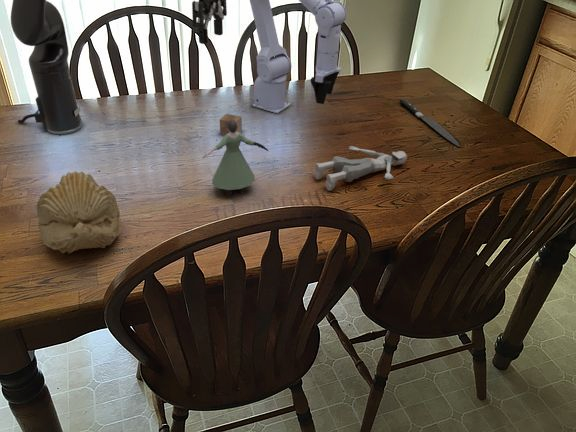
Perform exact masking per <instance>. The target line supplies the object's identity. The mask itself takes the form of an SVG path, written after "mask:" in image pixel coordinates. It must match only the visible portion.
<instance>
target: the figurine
mask: <svg viewBox="0 0 576 432" xmlns="http://www.w3.org/2000/svg"><path fill="white" fill-rule="evenodd" d="M348 149H349V151H354V152H361V153H363V154H366V155H367V156H368V155H369V156H374V157H377V158H373V157H364V158H354V159H349V158H346V157H343V156H337V155H335V156H333V158H332V160H330V161H325V162H321V163H315V164H314V170H313V173H314V174H313V176H314V178H315V179H316V180H321V179H322V178H323V176H324V172H325V171H328V170H331V169H332V170H333V172H335V173H327V174H326V181H325V188H326V190H327V191H329V192H330V191H333V190H334V188H335V187H336V182H337V181H341V180H343V181H344V182H346V183H351V182H353V181H354V180H358V179H359V178H361V177H364V176H366V175H369V174H372V173H375V172H379V171H384V170H385V169H386V172H385V174H384V176H383V179H385V180H388V181H390V180H392V179H394V176H393V175H392V174H391V169H392V168H391V167H393V166H400V165H404V164H405V163H406V161H407V159H408V155H407V154H406V152H405V151H402V150H398V151H392V152H391V154H392V155H389V154H386V153H384V152H377V151H375V150H371V149H362V148H359V147H357V146H353V145H350V146H349V147H348Z"/></svg>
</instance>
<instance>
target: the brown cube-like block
mask: <svg viewBox="0 0 576 432" xmlns="http://www.w3.org/2000/svg"><path fill="white" fill-rule="evenodd" d="M230 120H234V121H235V122H236V124H237V130H236V132H239V133H241V134H242V132H243V124H242V123H243V117H242V116H240V115H235V114H230V113H225V114H224V115H223V116H222V117H220V118H219V135H220V136H223V137H224V136H225V135H226V134H228V133H229V132H230V130H229V129H228V126H227V125H226V124H227V122H228V121H230Z"/></svg>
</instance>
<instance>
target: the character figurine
mask: <svg viewBox="0 0 576 432" xmlns="http://www.w3.org/2000/svg"><path fill="white" fill-rule="evenodd" d="M226 125H227V126H228V129H229V130H230V132H229V133H228V134H226V135H225V136H224V135H223V136H222V138H221V140H220V141H219V143H218V144H216V145H215V146H214V147H213V148H211V149H208V151H206V153H204V155H203V156H202V158H203V159H206V158H207V157H208V156H210V155H211V154H212V153H213V152H215V151H219V150H222V149H223V147H225V148H226V149H225V151H224V153H223V155H222V157H221V159H220V162H219V163H218V166H217V168H216V169H215V171H214V175H213V176H212V179H211V181H212V182H211V184H212V185H213V186H214V187H216V188H217V189H221V190H224V192H225V193H226V195H228V196H231V195H232V193H233V192H232V191H233V190H238V192H240V193H244V192H245V188H247V187H250V186H251V185H252V184H253V183H254V182H255V181H256V177H255V174H254V172H253V170H252V169H251V167H250V165H249V163H248V162H247V160H246V158H245V156H244V155H243V152H242V151H241V149H240V145H241V142H242V143H245V145H248V146H257V147H258V148H261V149H263V150H265V151H267V152H270V151H269V149H268V148H267V147H265V146H264V145H263V144H261V143H259V142H256V141H253V140H252V139H249V138H247V137H246V136H245V135H243V133H242V132H241V133H239V132H236V130H237V124H236V122H235V121H234V120H230V121H228V122H227V124H226Z"/></svg>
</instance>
